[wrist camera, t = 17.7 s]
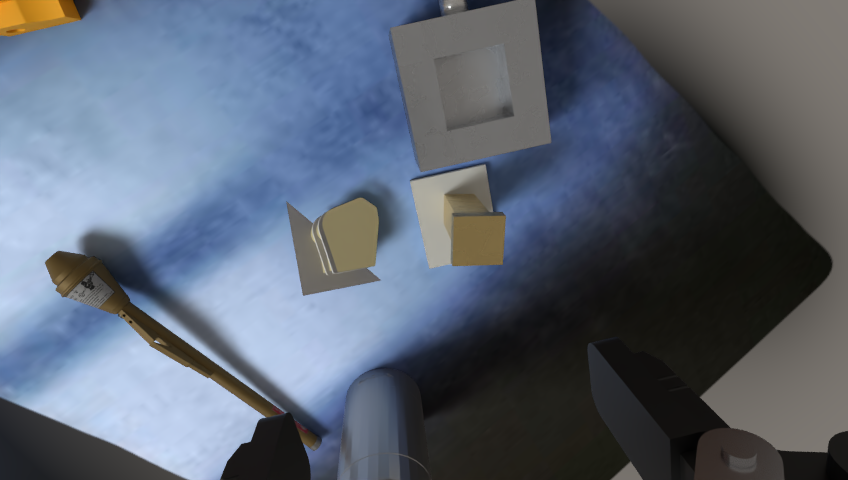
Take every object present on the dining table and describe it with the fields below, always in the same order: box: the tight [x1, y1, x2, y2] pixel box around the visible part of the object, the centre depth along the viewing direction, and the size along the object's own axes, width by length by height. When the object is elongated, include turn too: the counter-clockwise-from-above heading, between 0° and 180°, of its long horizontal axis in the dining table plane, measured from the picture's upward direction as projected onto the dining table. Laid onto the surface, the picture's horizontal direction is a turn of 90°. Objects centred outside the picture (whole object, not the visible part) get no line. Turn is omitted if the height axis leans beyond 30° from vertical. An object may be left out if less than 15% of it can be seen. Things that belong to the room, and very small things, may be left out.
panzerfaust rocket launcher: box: [45, 251, 322, 451], centre depth 52 cm, size 5×35×5 cm, turn 42°
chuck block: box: [389, 0, 551, 172], centre depth 43 cm, size 14×12×7 cm
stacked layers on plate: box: [286, 198, 380, 296], centre depth 48 cm, size 10×9×6 cm
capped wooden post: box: [444, 194, 506, 266], centre depth 45 cm, size 4×4×11 cm
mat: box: [410, 164, 493, 269], centre depth 50 cm, size 10×8×1 cm
